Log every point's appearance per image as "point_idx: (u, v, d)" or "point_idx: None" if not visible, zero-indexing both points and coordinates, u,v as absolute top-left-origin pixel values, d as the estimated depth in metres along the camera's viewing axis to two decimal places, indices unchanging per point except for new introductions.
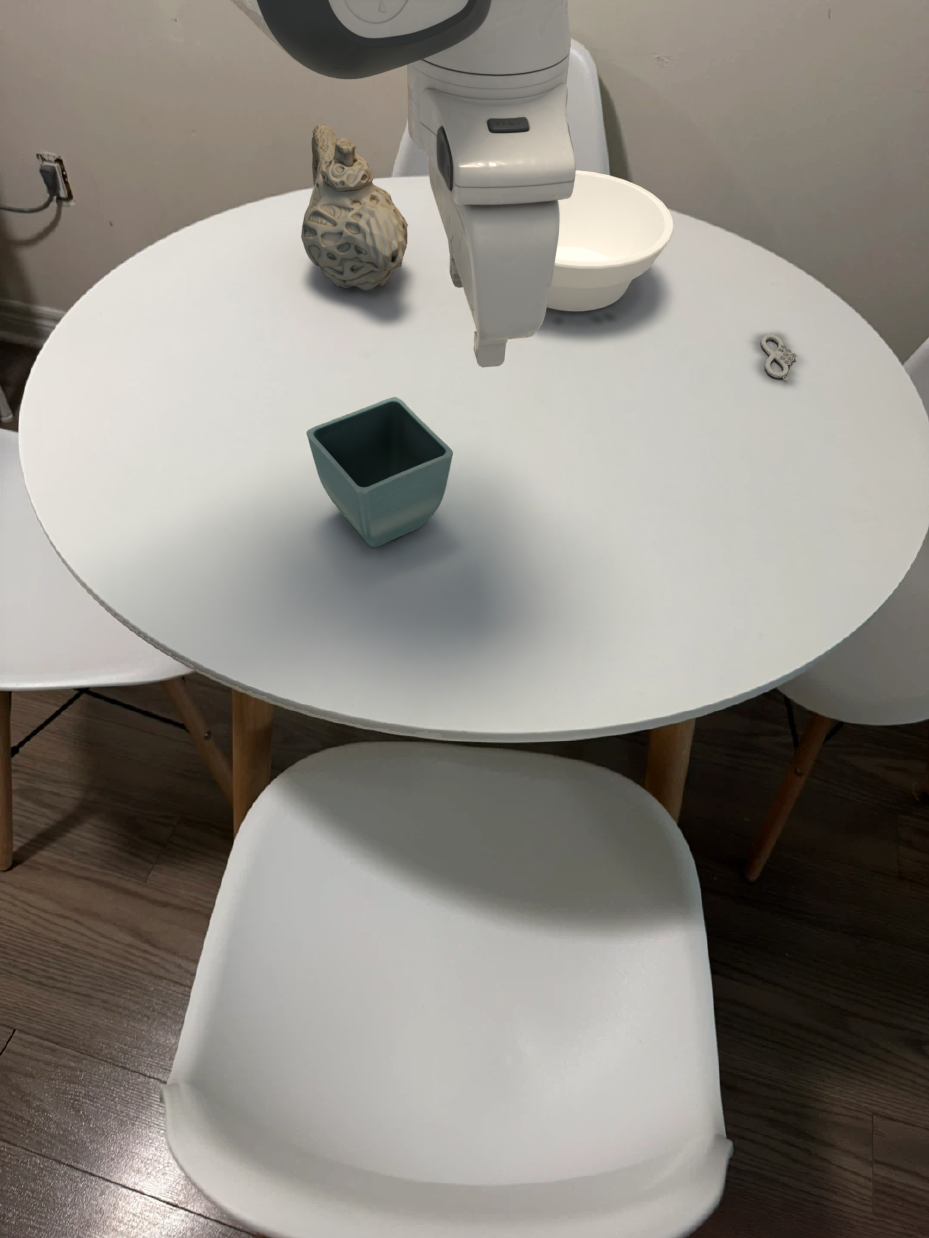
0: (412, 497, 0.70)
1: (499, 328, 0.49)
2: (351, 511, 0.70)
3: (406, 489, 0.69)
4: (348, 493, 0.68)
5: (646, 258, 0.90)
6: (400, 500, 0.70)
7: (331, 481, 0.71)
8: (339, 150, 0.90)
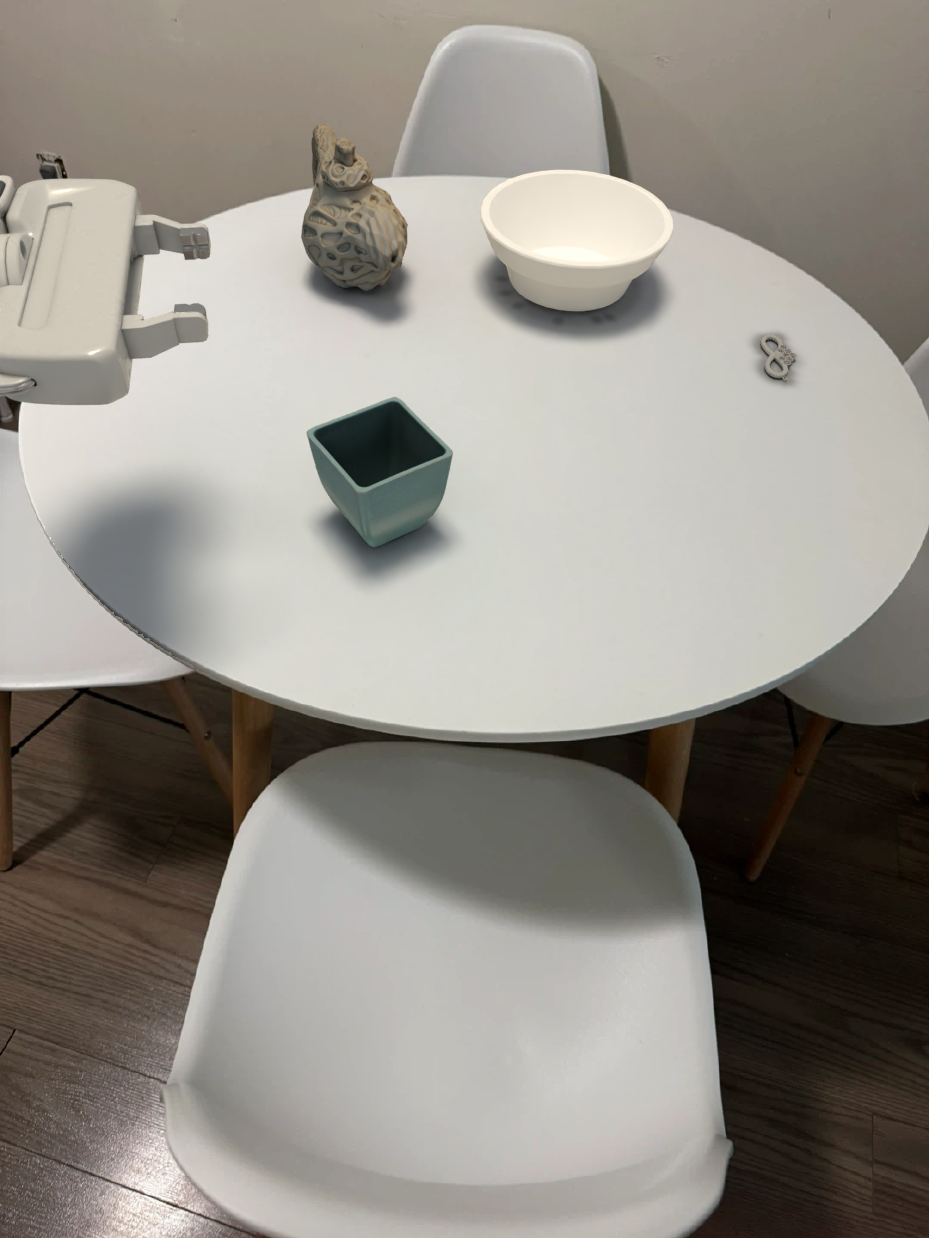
0: (412, 497, 0.70)
1: None
2: (351, 511, 0.70)
3: (406, 489, 0.69)
4: (348, 493, 0.68)
5: (646, 258, 0.90)
6: (400, 500, 0.70)
7: (331, 481, 0.71)
8: (339, 150, 0.90)
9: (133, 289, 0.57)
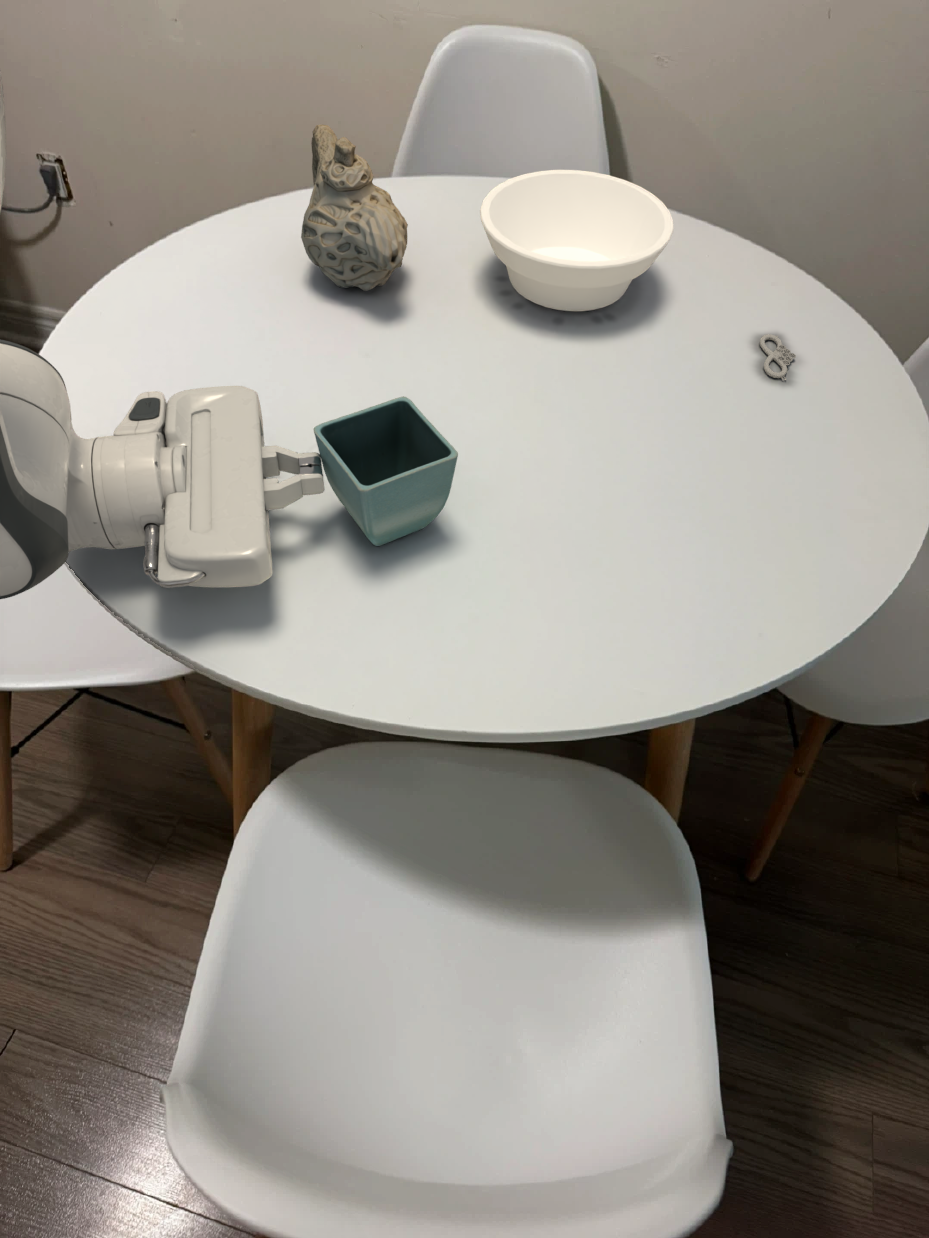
0: (416, 497, 0.70)
1: None
2: (354, 509, 0.70)
3: (410, 489, 0.69)
4: (351, 491, 0.69)
5: (646, 258, 0.90)
6: (403, 500, 0.70)
7: (336, 478, 0.71)
8: (339, 150, 0.90)
9: None
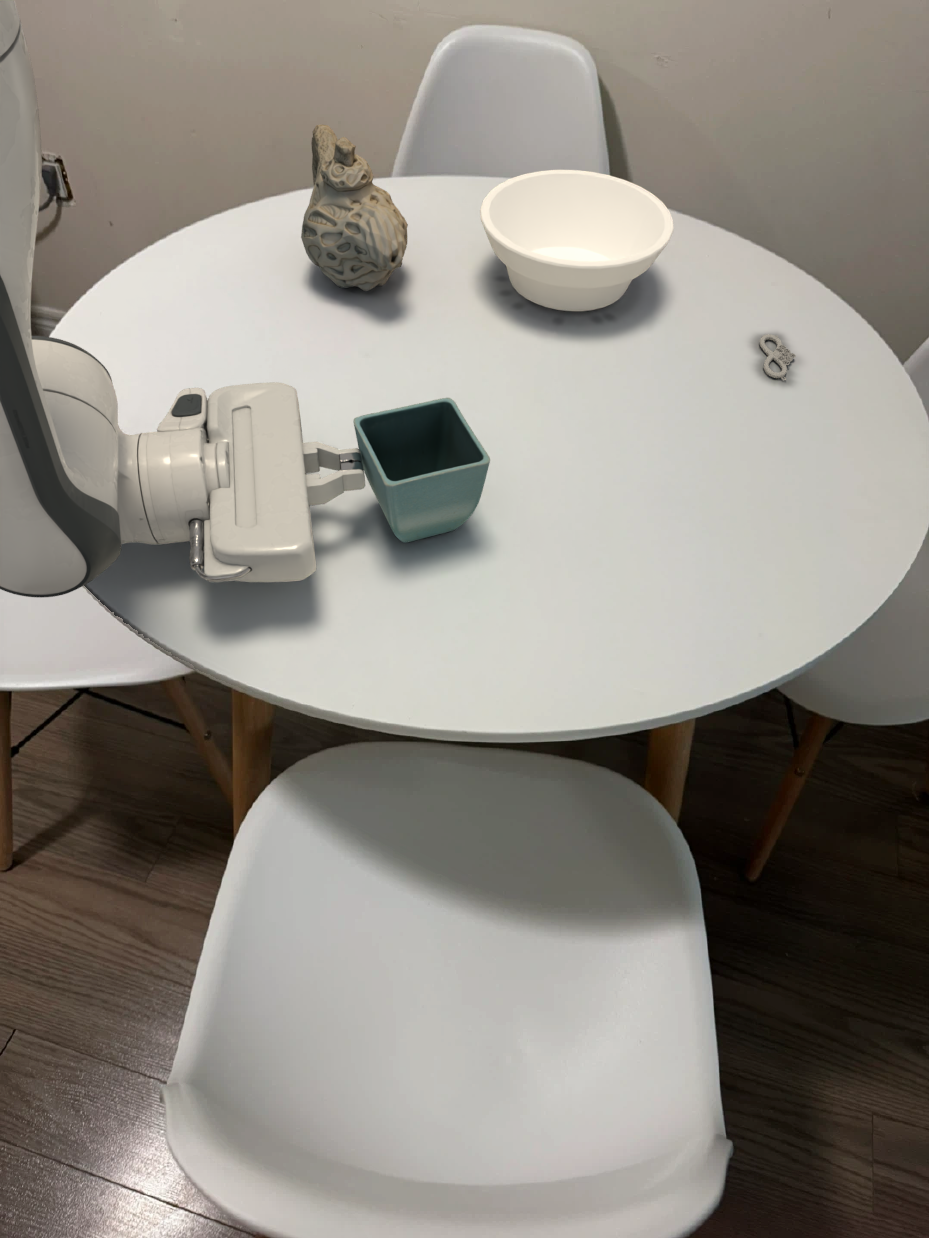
0: (444, 498, 0.70)
1: None
2: (382, 503, 0.71)
3: (437, 490, 0.69)
4: (379, 485, 0.69)
5: (646, 258, 0.90)
6: (430, 499, 0.70)
7: (369, 471, 0.72)
8: (339, 150, 0.90)
9: None
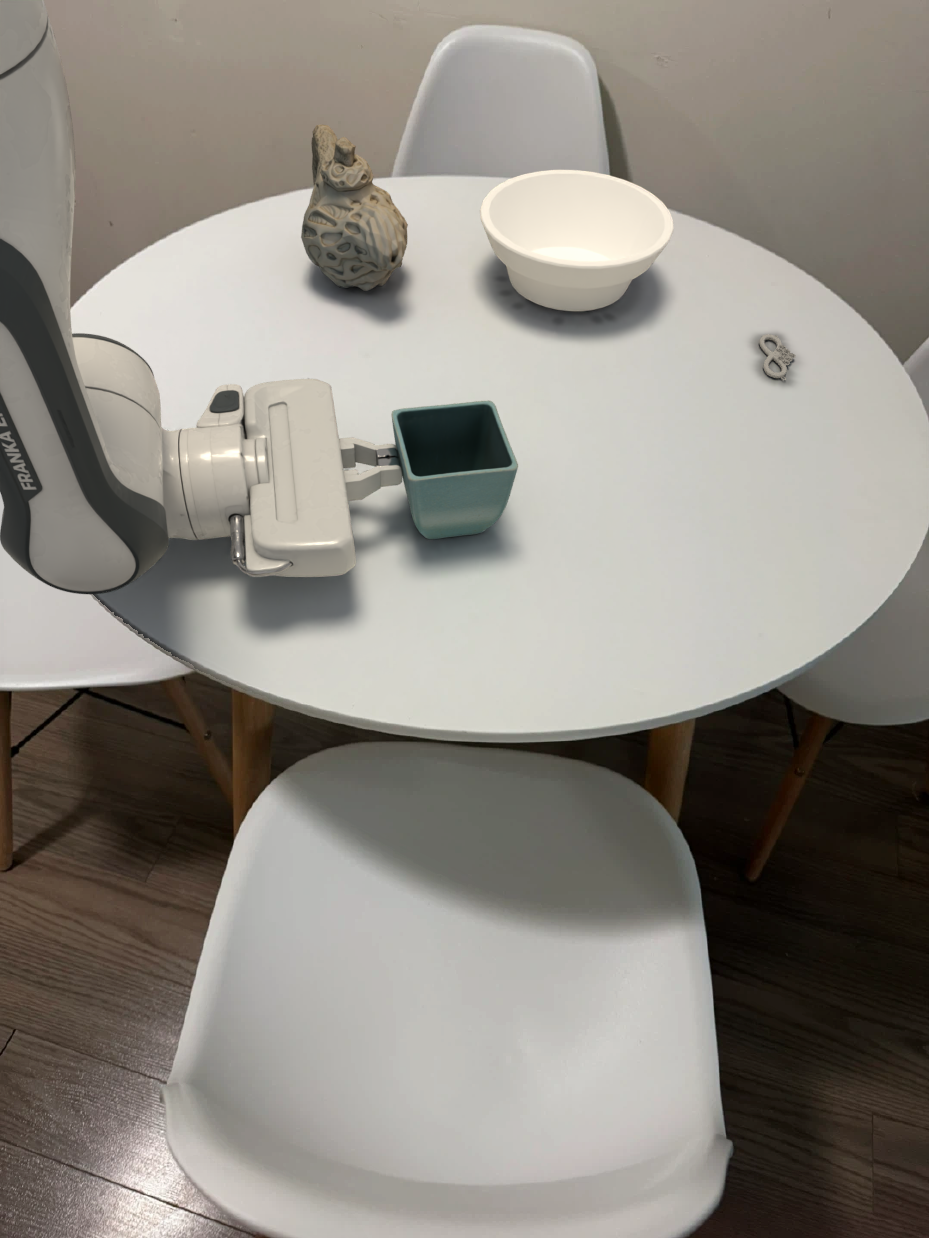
0: (468, 500, 0.70)
1: None
2: (408, 497, 0.71)
3: (462, 490, 0.69)
4: (406, 478, 0.70)
5: (646, 258, 0.90)
6: (454, 499, 0.70)
7: (401, 464, 0.72)
8: (339, 150, 0.90)
9: None
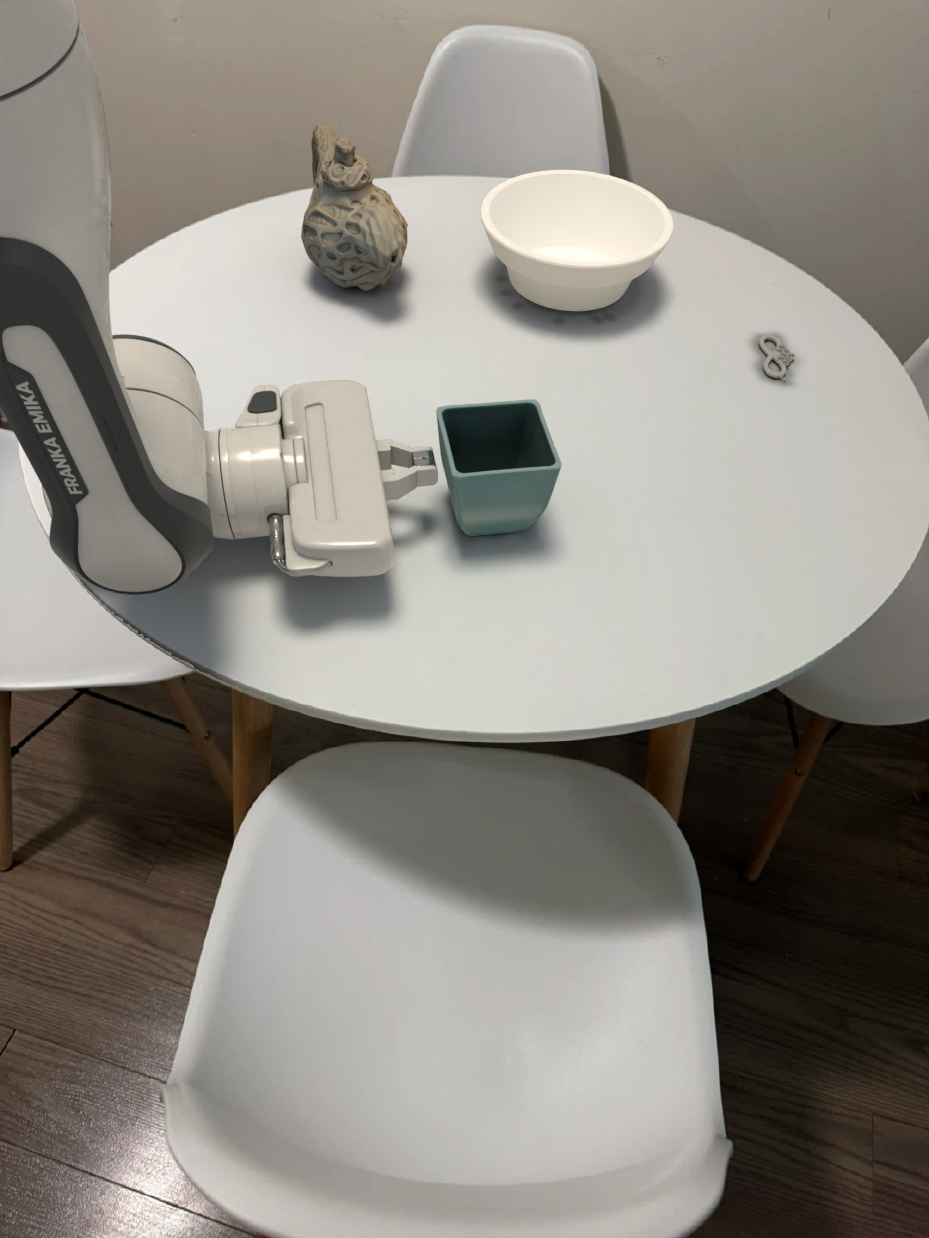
0: (511, 497, 0.71)
1: None
2: (450, 493, 0.72)
3: (505, 488, 0.70)
4: (449, 475, 0.70)
5: (646, 258, 0.90)
6: (497, 497, 0.70)
7: (444, 460, 0.73)
8: (338, 150, 0.90)
9: None
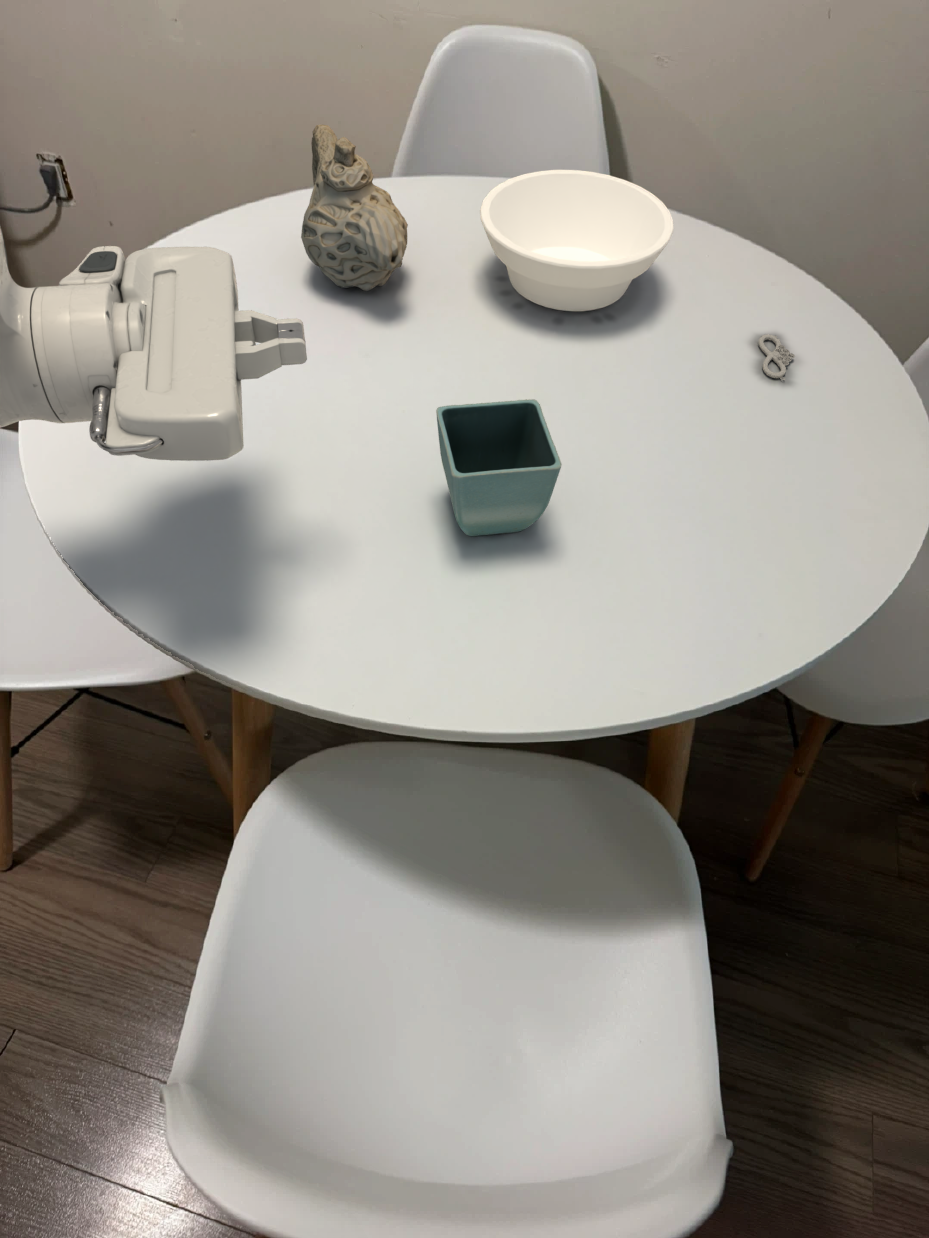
0: (511, 497, 0.71)
1: None
2: (450, 493, 0.72)
3: (505, 488, 0.70)
4: (449, 475, 0.70)
5: (646, 258, 0.90)
6: (497, 497, 0.70)
7: (444, 460, 0.73)
8: (339, 150, 0.90)
9: None
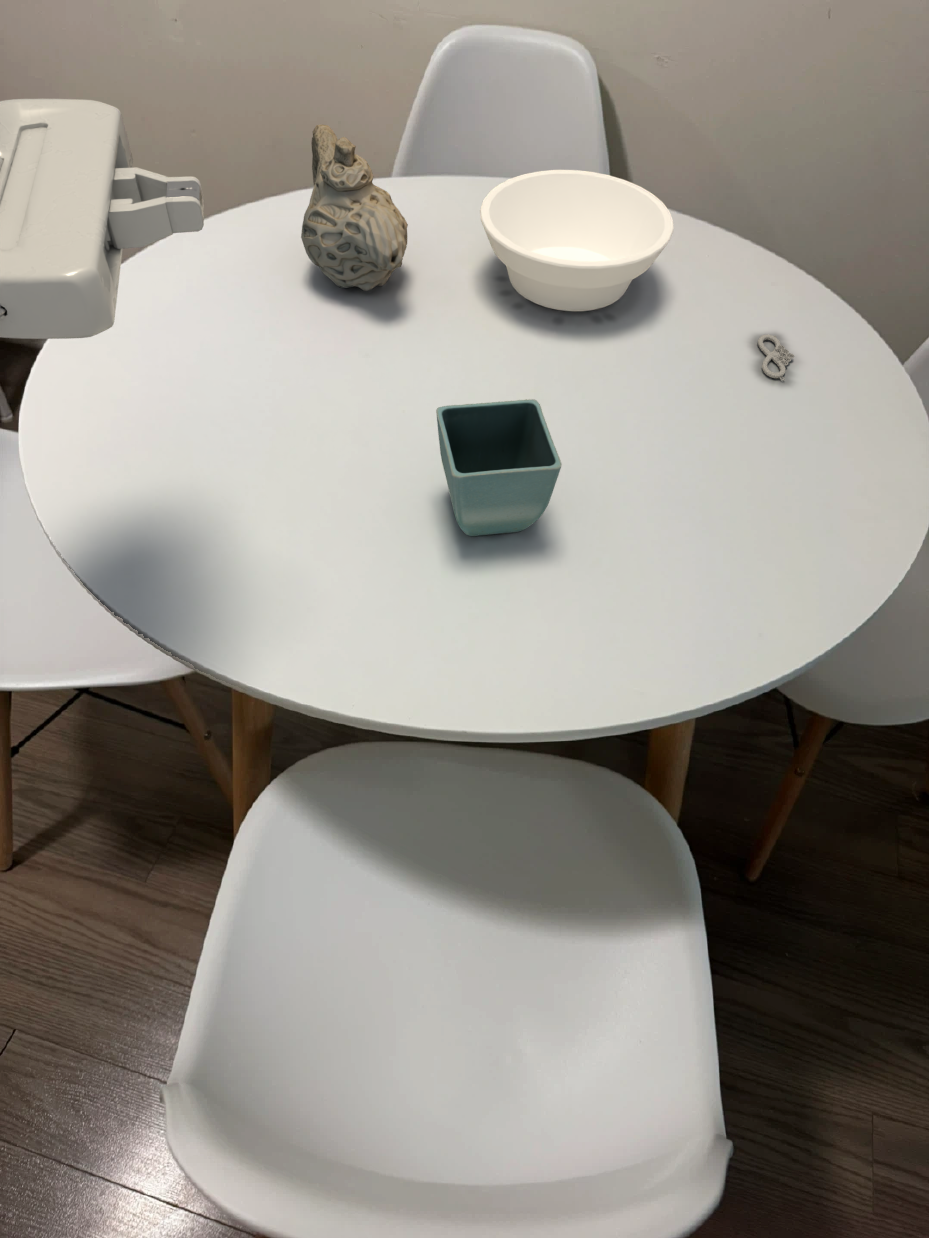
0: (511, 497, 0.71)
1: None
2: (450, 493, 0.72)
3: (505, 488, 0.70)
4: (449, 475, 0.70)
5: (646, 258, 0.90)
6: (497, 497, 0.70)
7: (444, 460, 0.73)
8: (339, 150, 0.90)
9: None
